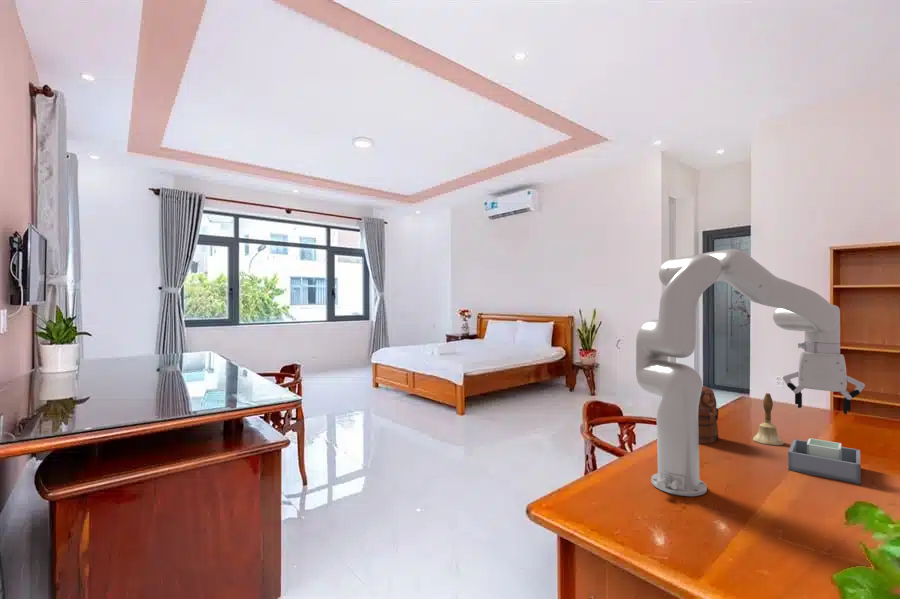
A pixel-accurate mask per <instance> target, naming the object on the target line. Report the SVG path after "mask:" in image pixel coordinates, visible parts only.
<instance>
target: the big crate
mask: <svg viewBox="0 0 900 599" xmlns="http://www.w3.org/2000/svg"><path fill="white" fill-rule="evenodd" d="M807 442H808V440H802V439H796V438H793V439H792V442H791V444H790V446H789V449H788V452H787V458H788V459H787V460H788V461H787V462H788V468H787V469H788V471H791V470H792V472H796V471H797V472H796V473H800V474H801V473H802V474H807V475H812V476H816V477H822V478H827V479H831V480H835V481H841V482H842V481H843V482H847V483H852V484H855V485H860V484H861V483H862V480H861V477H862V476H861V474H862V472H861V470H862V469H861V449H858V448H852V447H851V448H850V447H846V446H845V447H844V446H841V448H842V461H840V460H835V459H829V458H823V457H818V456H812V455H807ZM861 485H862V484H861Z"/></svg>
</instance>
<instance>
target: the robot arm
mask: <svg viewBox="0 0 900 599" xmlns="http://www.w3.org/2000/svg"><path fill="white" fill-rule="evenodd" d="M658 277H659V280H660V283H661V284H662V285H663V286H664V287H665V288H664V290H663V291H662V293H661V296H660V299H659V310H658V319H650V320H648V321H646V322H644V323H643V324H642V325H641V326H640V327H639V329H638V332H637V334H636V340H635V342H636V343H635V376H636V381H637V383H638V385H639V386H640V388H641V389H642V390H644V391H645V392H647V393H650V394H652V395H656V396H659V397H661V400H660V403H659V406H658V408H657V410H656V445H657V446H656V450H657V454H656V455H657V472H656V473H654V474H652V475H651V478H650V479H651V480H650V481H651V484H652V485H653V486H654V487H655V488H657V489H658V490H660V491H662V492H666V493H667V494H670V495H675V496H680V497H681V496H682V497H699V496H702V495H705V494H706V493H707V492H708V491H707V490H708V489H707V484H706V483H705V482H704V481H703V480H701V479H700V447H699V446H700V443H699V432H698V409H699V401H700V396H701V392H702V386H703V382H702V378H701V376H700V374H699V372H698V371H697V370H696V369H694V368H693V367H691V366H690V365H687V364H683V363H680V362H673V361H670V360H669V358H674V359H683V358H688V357H690V356H691V355H692V354H694V351H695V349H696V344H697V343H696V342H697V341H696V340H697V338H696V337H697V306H698V302H699V300H700V297H701V296H702V294H703V293H704V292H705V291H706V290H707V289H708V288H709V287H710V286H712V285H713V284H715V283H716V282H725V283H727V284H728V285H729V286H731V287H732V288H733V289H735V290H736V291H737V292H738V293H740V294H741V295H742V296H744V297H745V299H746V298H747V300H749V301H751V302H753V303H755V304H759V305H763V306H767V307H773V308H776V309H775V310H774V311H773V313H772V314H773V315H772V319H773V322H774V324H775V325H776V326H777V327H779V328H780V329H783V330H786V331H795V332H804V342H801V343H800V342H799V343H797V348H798V349H802V350H804V351H802V352H800V356H799V360H798V361H799V362H798V370H797V371H796V372H793V373H790V374H785V375H784V376H783V377H782V379H783V381H784V382H785V384H786V386H787V387H788V388H789V390H791V391H792V392H793V393H794V404H795V405H797V408H798V409H801V408H802V407H803V393H802V391H803V390H804V389H806V390H807V389H809V390H816V391H825V392H835V393H840V394H841V395H843V402H842V403H843V406H842V407H843V412H842V413H843V414H844V415H847V414H848V412H851V409H852V408H851V406H852V405H851V403H852V399H854V398H855V397H857V396H858V395H860V393H862V391H863V390H864V388H865V387H866V384H865V383H863V382H862V381H860V380H857V379H855V378H853V377H851V376H848V375H847V365H846V359H845V356H844V354H841V310H840V307H839V306H838V305H835V304H831V303H830V302H829V301H828V300H826V298H824V297H823V296H822V295H820V294H819V293H817V292H816V291H814V290H811V289H809V288H807V287H805V286H802V285H799V284H796V283H794V282H791V281H788V280H786V279H783V278H780V277H778V276H775V274H773V273H772V272H770V271H769V270H768V269H767V268H766V267H764V266H763V265H761V264H760V263H759V262H758V261H756V259H754V258H753V257H751V256H750V255H749V254H748V253H746V252H745V251H743V250H740V249H736V248H731V249H730V248H729V249H721V250H716V251H715V250H714V251H708V252H704V253H703V252H702V253H700V254H695V255H688V256H682V257H677V258H676V257H675V258H670V259H668V260H665V262H663V263H662V265H661V266H660V268H659V271H658ZM796 378H797V382H798V386H796V385H795V384H794V383H792V379H796ZM848 383H850V384H852V385H854V386H855V388H854V389H853V390H851V391H850V392H849V391H848V390H847V386H848Z"/></svg>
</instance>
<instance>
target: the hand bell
mask: <svg viewBox="0 0 900 599" xmlns="http://www.w3.org/2000/svg"><path fill="white" fill-rule="evenodd" d="M764 395H765V396H764V398H763V403H762V406H763V410H764V422H762V423H760V424H759V427H758V432H757V433H756V434H755V435H754V436H753V437H752V440H753V441H754V442H757V443H759V444H763V445H769V446H782V445H784V444H785V443H784V442H783V440H782V439H781V438H780V437H779V434H778V432H777V426H776V425H774V424H773V423H772V416H771V415H772V414H771V413H772V409H773V405H774V403H773V398H772V395H771V393H767V392H766V393H765V394H764Z"/></svg>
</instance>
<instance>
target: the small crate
mask: <svg viewBox="0 0 900 599" xmlns="http://www.w3.org/2000/svg"><path fill="white" fill-rule="evenodd" d="M807 441H808V442H807V455H812V456H818V457H823V458H829V459H835V460H840V461H842V448H841V447H842V443H841V442H834V441H829V440H825V439H823V440H822V439H818V438H817V439H816V438H808V439H807Z"/></svg>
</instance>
